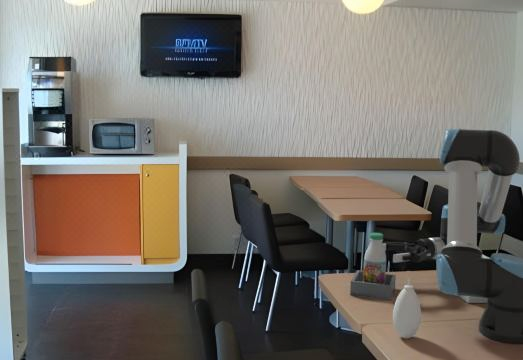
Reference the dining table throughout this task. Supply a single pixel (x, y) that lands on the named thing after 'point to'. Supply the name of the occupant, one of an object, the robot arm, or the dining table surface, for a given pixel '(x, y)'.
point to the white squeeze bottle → (407, 312)
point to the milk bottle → (375, 260)
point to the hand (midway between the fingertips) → (381, 253)
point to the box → (372, 287)
